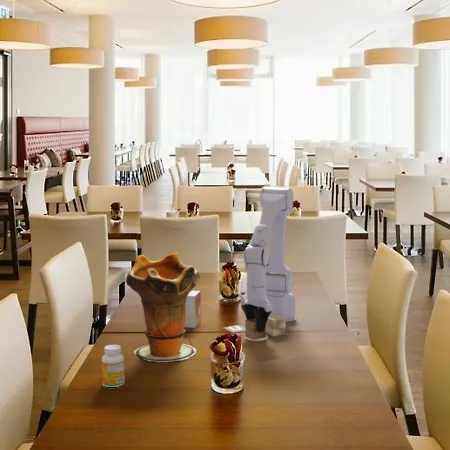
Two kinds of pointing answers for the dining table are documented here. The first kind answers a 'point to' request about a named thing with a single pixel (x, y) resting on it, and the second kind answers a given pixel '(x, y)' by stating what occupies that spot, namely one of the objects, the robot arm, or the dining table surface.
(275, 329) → the maple block
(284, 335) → the code tile
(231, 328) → the code tile
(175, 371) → the dining table surface
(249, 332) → the walnut block
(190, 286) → the decorative vase
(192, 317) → the small box
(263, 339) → the coaster
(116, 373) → the supplement bottle
